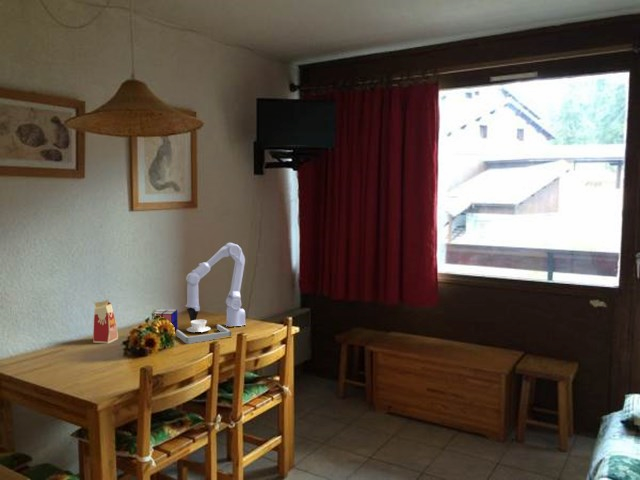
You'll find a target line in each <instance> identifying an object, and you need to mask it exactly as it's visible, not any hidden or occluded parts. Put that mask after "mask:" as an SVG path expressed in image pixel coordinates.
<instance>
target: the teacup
mask: <svg viewBox="0 0 640 480" xmlns="http://www.w3.org/2000/svg"><path fill="white" fill-rule="evenodd" d="M207 321H208V320H206V319H196V320H192V321H190V324H191V326H189V327H188V328H186V331H187V332H191V333H195V332H201V333H204V332H208V331H211V327H210V326H206V325H207Z"/></svg>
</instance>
